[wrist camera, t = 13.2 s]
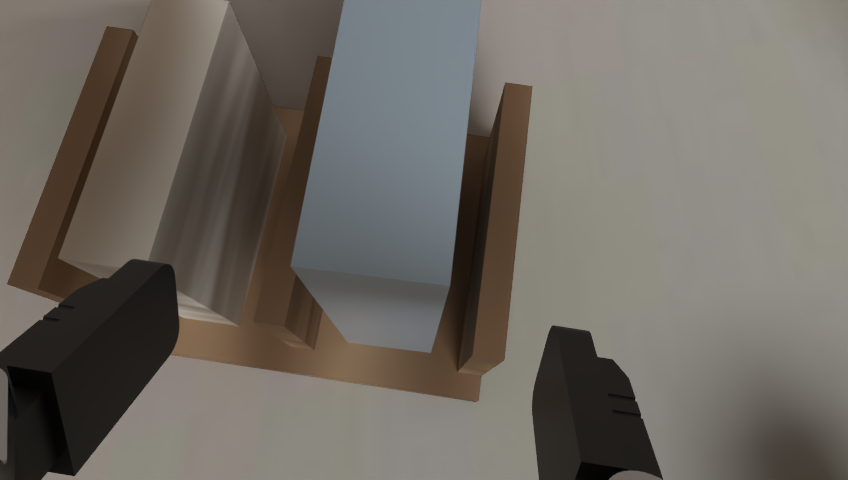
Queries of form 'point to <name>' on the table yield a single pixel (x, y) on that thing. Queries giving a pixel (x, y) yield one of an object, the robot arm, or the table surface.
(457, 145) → the pale blue upright slab
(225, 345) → the rack
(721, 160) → the table surface
